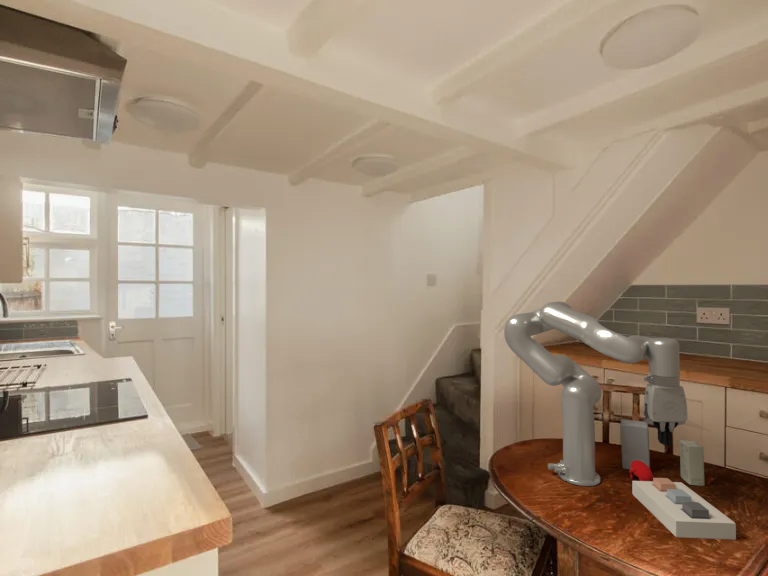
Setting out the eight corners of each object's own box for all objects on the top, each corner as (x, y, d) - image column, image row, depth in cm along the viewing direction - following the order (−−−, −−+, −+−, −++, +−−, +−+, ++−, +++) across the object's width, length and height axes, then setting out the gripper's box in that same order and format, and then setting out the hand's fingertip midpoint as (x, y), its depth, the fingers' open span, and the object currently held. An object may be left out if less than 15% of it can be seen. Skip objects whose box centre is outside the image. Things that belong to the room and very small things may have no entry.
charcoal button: (692, 521, 107) (692, 509, 107) (682, 513, 111) (682, 501, 111) (708, 522, 107) (708, 510, 107) (698, 513, 111) (698, 502, 111)
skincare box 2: (705, 486, 132) (704, 447, 132) (689, 485, 133) (688, 446, 133) (694, 477, 138) (694, 440, 138) (679, 476, 139) (679, 439, 139)
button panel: (676, 537, 106) (676, 521, 106) (632, 493, 128) (632, 480, 128) (735, 539, 105) (735, 523, 105) (681, 495, 126) (681, 482, 126)
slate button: (675, 507, 114) (675, 496, 114) (667, 499, 118) (666, 489, 118) (691, 507, 114) (691, 496, 114) (682, 500, 118) (682, 489, 118)
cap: (622, 465, 141) (627, 462, 136) (639, 459, 141) (645, 455, 136) (636, 490, 136) (642, 488, 131) (654, 484, 136) (660, 482, 131)
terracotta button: (660, 494, 121) (660, 484, 121) (653, 487, 125) (653, 477, 125) (675, 494, 121) (675, 484, 121) (667, 488, 125) (667, 478, 125)
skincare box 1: (649, 467, 146) (649, 421, 146) (649, 474, 140) (649, 427, 140) (621, 461, 151) (621, 417, 151) (620, 469, 145) (620, 423, 145)
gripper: (643, 383, 120) (644, 448, 120) (699, 384, 119) (700, 449, 119) (630, 377, 127) (631, 438, 127) (683, 378, 126) (683, 439, 126)
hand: (664, 443), depth 123 cm, fingers closed
